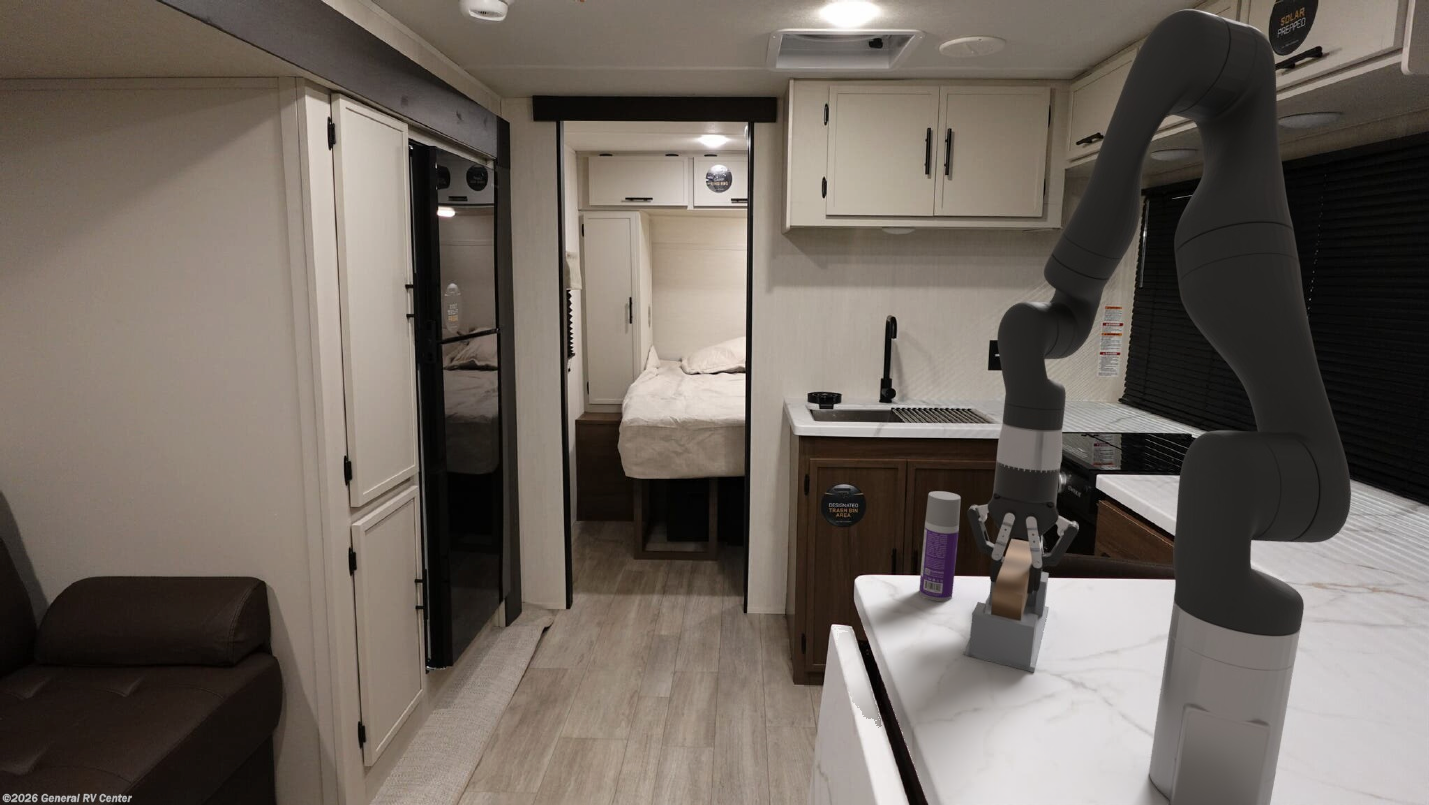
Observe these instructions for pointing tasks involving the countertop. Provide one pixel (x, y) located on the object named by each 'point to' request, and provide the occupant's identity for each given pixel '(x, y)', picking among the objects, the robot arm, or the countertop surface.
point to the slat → (1012, 582)
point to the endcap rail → (1009, 632)
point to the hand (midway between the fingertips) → (1014, 588)
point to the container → (940, 546)
